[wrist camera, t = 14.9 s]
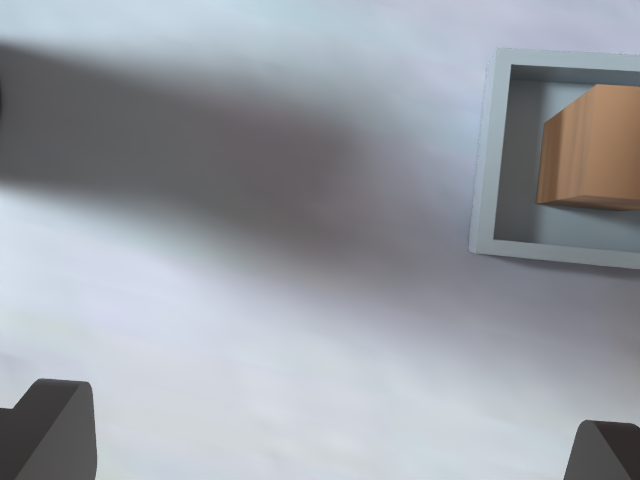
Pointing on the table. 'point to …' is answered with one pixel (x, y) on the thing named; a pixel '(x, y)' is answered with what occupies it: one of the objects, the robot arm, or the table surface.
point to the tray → (524, 159)
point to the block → (593, 152)
